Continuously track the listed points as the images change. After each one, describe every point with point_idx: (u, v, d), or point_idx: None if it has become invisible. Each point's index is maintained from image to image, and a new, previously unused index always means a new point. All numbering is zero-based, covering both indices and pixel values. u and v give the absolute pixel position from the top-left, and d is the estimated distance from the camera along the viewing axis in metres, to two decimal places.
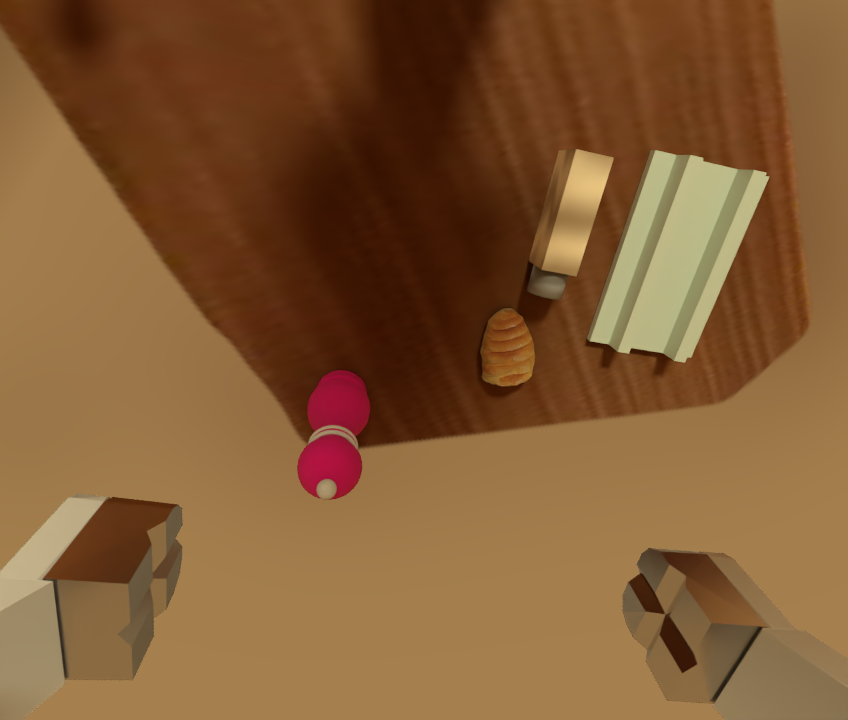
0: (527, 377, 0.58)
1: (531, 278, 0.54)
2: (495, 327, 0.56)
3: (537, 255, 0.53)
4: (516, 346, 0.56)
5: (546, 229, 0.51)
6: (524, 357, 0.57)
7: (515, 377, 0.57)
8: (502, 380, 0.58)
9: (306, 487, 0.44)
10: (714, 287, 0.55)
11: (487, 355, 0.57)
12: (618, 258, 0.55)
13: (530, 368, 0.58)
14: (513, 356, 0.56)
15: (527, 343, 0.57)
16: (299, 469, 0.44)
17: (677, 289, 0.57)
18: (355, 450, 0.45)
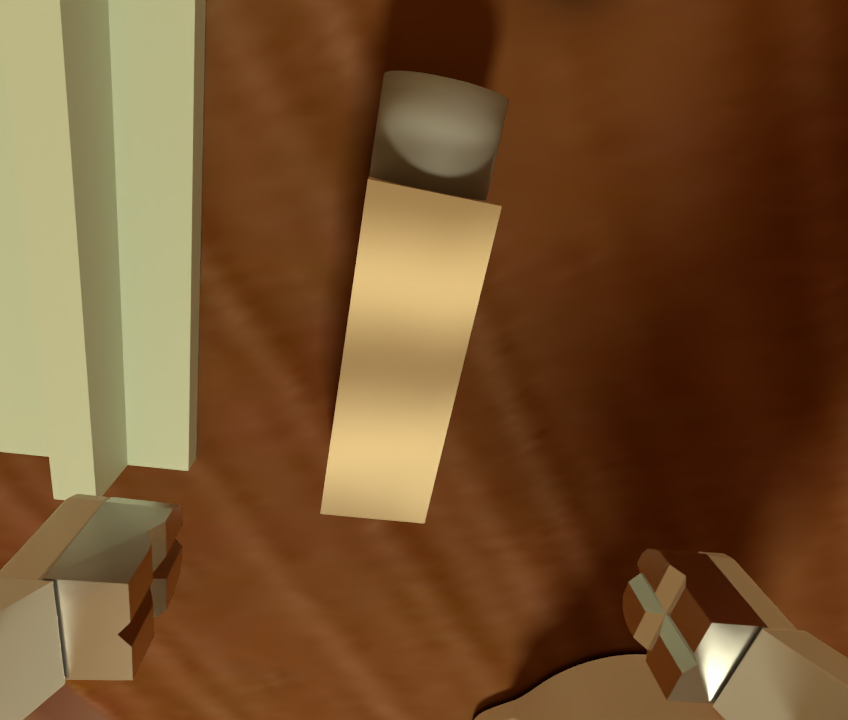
0: None
1: None
2: None
3: None
4: None
5: None
6: None
7: None
8: None
9: None
10: None
11: None
12: (191, 196, 0.17)
13: None
14: None
15: None
16: None
17: None
18: None
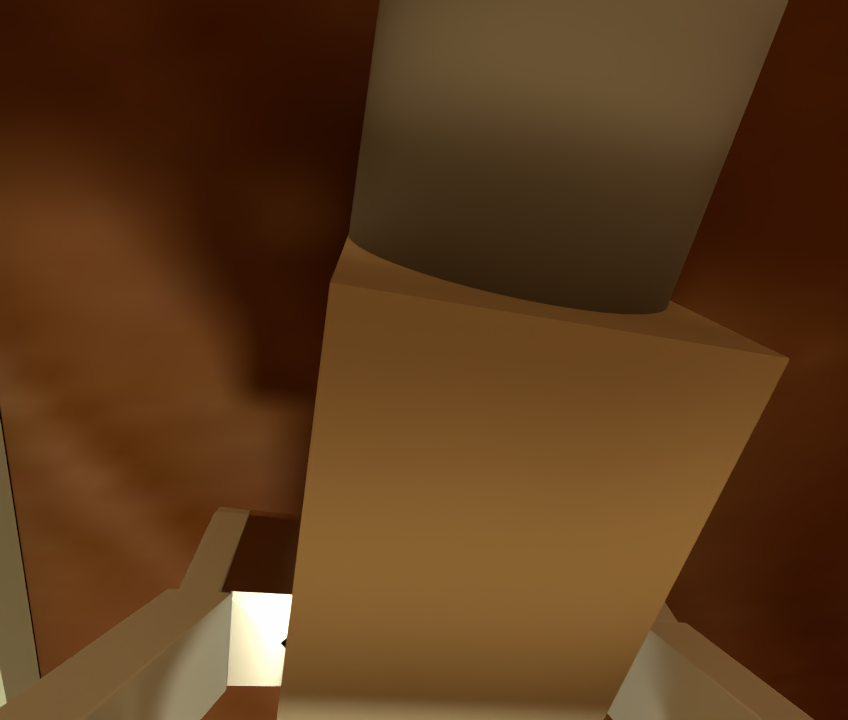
0: None
1: None
2: None
3: None
4: None
5: None
6: None
7: None
8: None
9: None
10: None
11: None
12: None
13: None
14: None
15: None
16: None
17: None
18: None
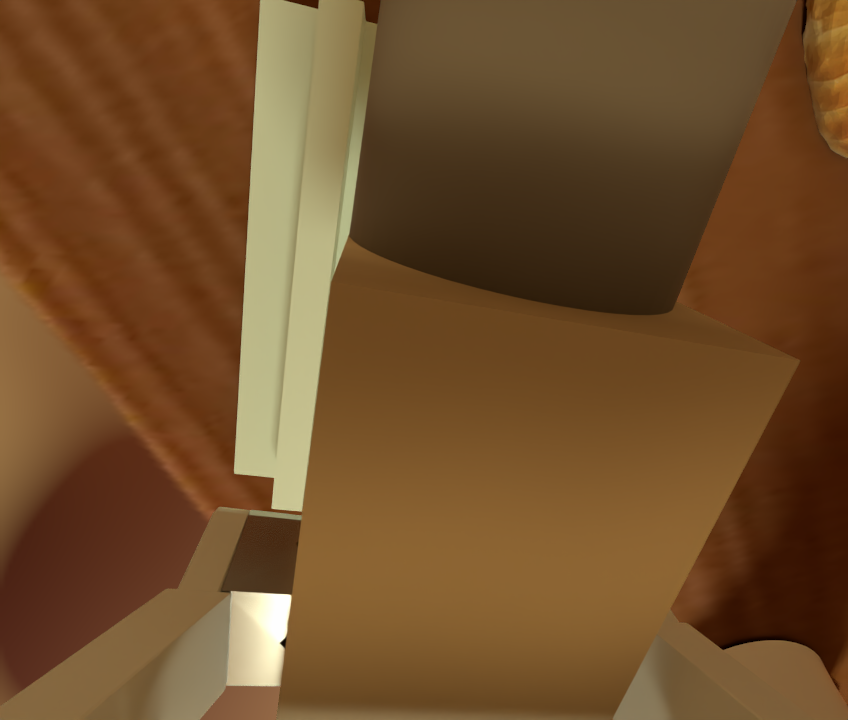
0: None
1: None
2: None
3: None
4: None
5: None
6: None
7: None
8: None
9: None
10: (303, 266, 0.20)
11: None
12: None
13: None
14: None
15: None
16: None
17: None
18: None
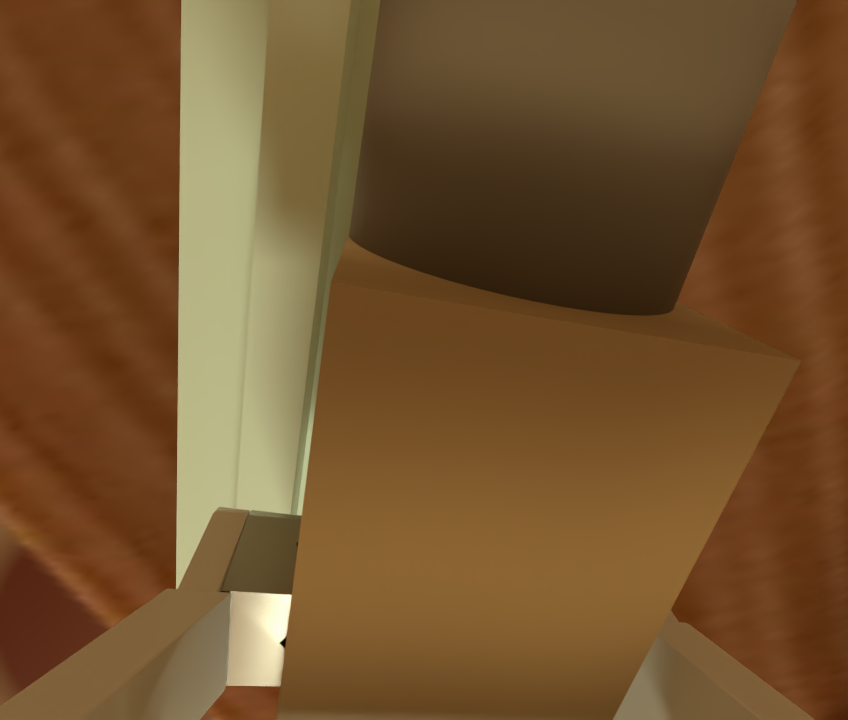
0: None
1: None
2: None
3: None
4: None
5: None
6: None
7: None
8: None
9: None
10: (262, 339, 0.12)
11: None
12: None
13: None
14: None
15: None
16: None
17: None
18: None
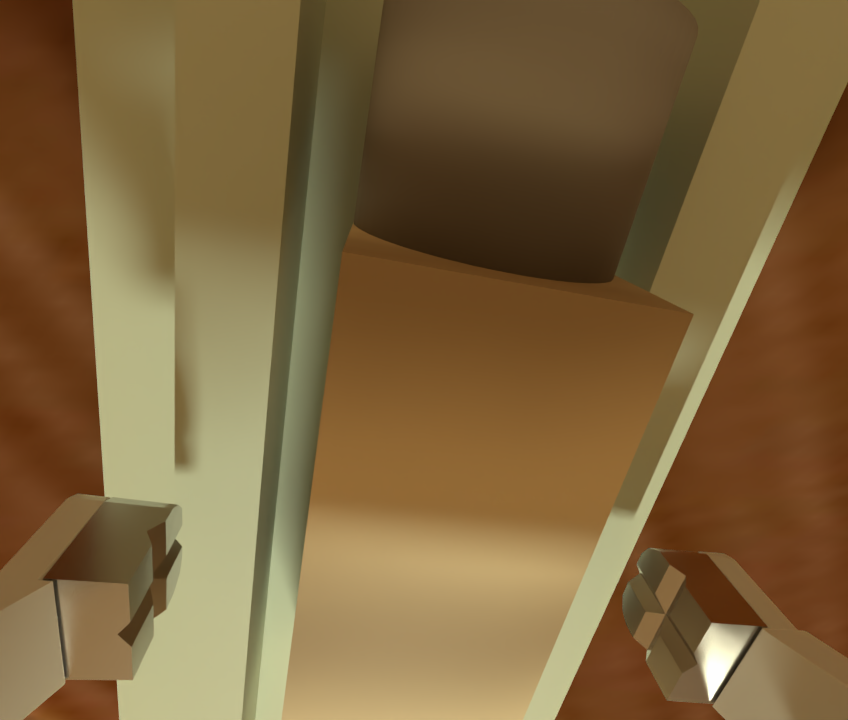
0: None
1: None
2: None
3: None
4: None
5: None
6: None
7: None
8: None
9: None
10: (197, 415, 0.08)
11: None
12: (674, 449, 0.13)
13: None
14: None
15: None
16: None
17: None
18: None
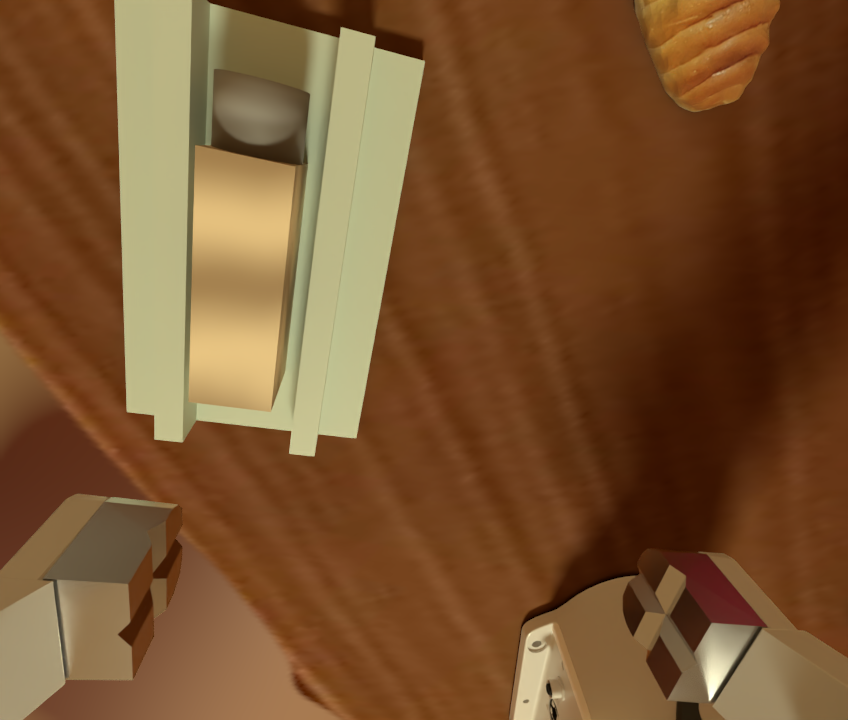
0: None
1: (305, 130, 0.22)
2: (756, 61, 0.24)
3: (299, 189, 0.23)
4: (725, 19, 0.22)
5: (292, 251, 0.23)
6: None
7: None
8: None
9: None
10: (161, 217, 0.23)
11: None
12: (386, 266, 0.27)
13: None
14: None
15: (682, 32, 0.23)
16: None
17: None
18: None
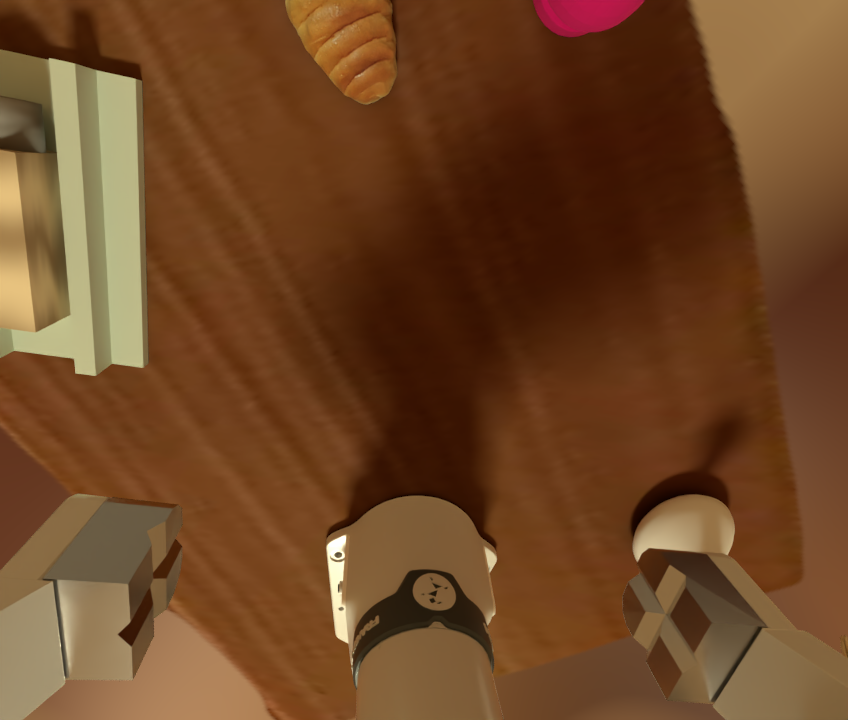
0: None
1: (36, 128, 0.31)
2: (386, 65, 0.33)
3: (42, 170, 0.32)
4: (343, 37, 0.31)
5: (41, 215, 0.33)
6: (318, 15, 0.31)
7: None
8: None
9: None
10: None
11: (384, 2, 0.31)
12: (139, 229, 0.37)
13: None
14: (341, 13, 0.31)
15: (321, 48, 0.32)
16: None
17: None
18: None
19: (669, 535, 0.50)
